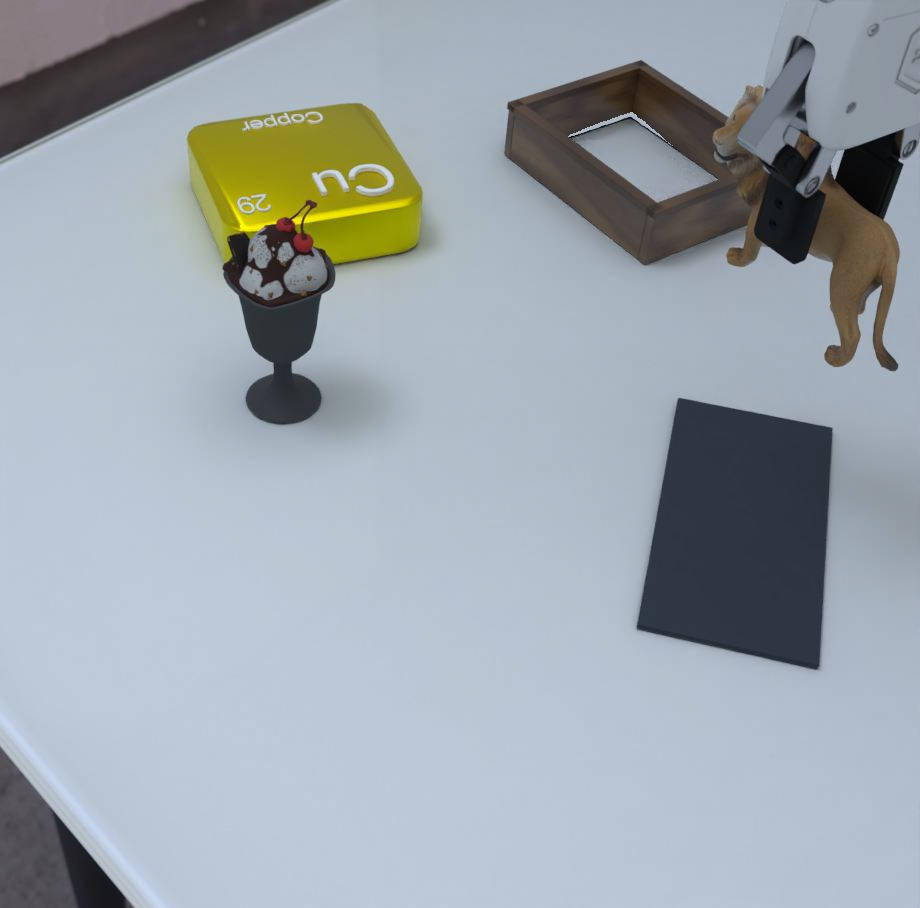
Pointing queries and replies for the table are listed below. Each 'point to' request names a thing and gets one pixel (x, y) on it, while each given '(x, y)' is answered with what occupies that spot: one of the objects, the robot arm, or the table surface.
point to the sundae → (280, 311)
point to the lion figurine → (822, 238)
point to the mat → (741, 534)
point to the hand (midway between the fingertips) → (816, 230)
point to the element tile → (308, 180)
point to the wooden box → (605, 191)
